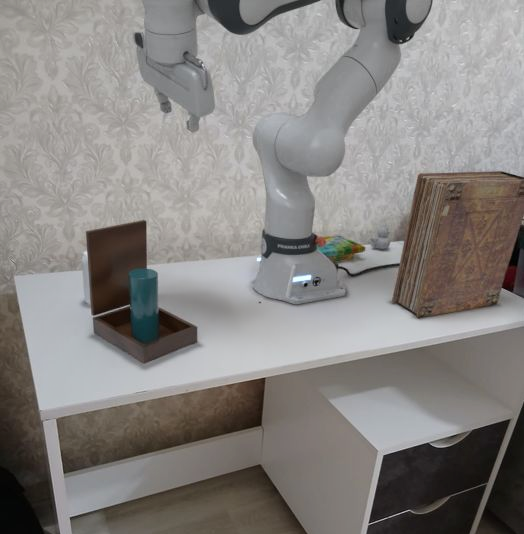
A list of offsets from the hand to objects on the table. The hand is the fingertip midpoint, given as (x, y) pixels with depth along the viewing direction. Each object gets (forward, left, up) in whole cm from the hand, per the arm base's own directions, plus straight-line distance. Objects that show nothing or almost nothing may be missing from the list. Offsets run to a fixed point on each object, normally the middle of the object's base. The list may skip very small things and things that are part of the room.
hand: (179, 120), depth 107 cm
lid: (+14, +12, -25) cm, 31 cm away
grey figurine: (-67, -27, -38) cm, 81 cm away
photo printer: (+15, -2, -38) cm, 41 cm away
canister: (+10, +18, -37) cm, 42 cm away
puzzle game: (-46, -22, -38) cm, 63 cm away
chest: (+10, +18, -38) cm, 43 cm away
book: (-62, +13, -38) cm, 74 cm away
